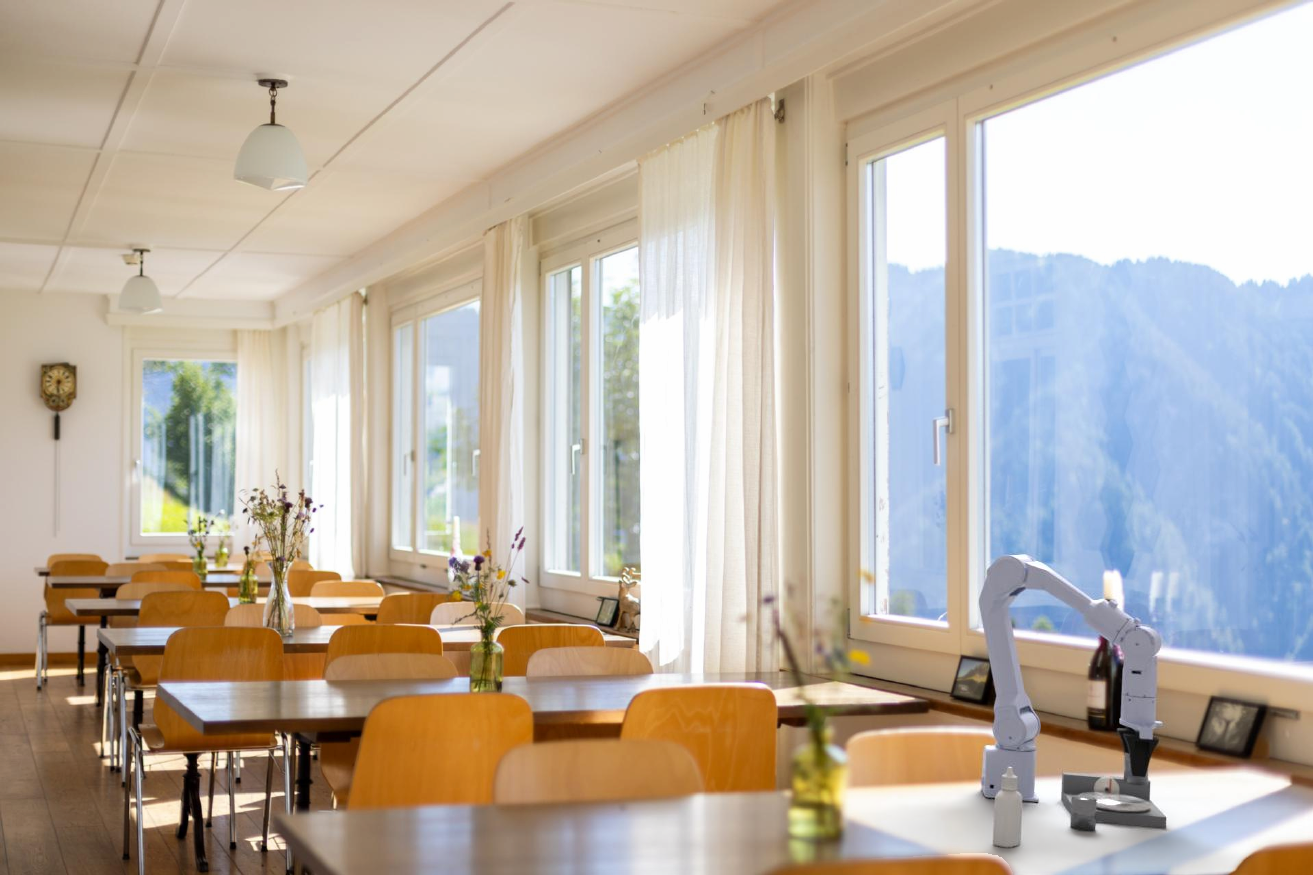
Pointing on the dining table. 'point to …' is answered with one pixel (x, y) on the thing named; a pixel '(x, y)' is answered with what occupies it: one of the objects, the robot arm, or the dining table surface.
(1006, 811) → the eye dropper bottle
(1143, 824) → the scale
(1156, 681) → the robot arm
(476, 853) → the dining table surface
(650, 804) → the dining table surface
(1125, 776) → the cylinder
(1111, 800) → the pan
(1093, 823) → the cylinder
